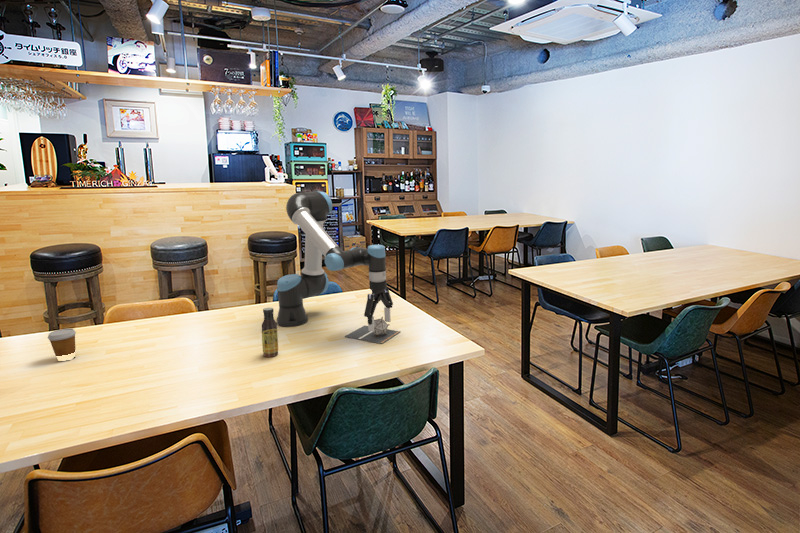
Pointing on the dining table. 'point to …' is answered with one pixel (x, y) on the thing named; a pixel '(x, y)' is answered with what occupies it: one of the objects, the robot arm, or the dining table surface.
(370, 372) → the dining table surface
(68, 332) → the disposable coffee cup
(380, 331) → the game die
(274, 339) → the sauce bottle
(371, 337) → the lane mat
